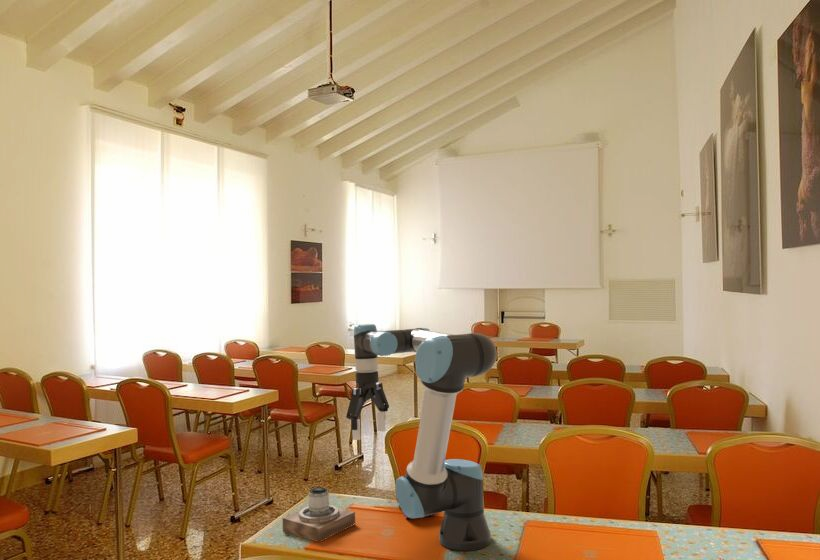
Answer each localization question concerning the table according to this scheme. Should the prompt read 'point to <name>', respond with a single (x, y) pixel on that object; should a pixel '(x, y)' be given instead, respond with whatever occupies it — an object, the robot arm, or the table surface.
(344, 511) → the mount block
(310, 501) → the camera lens
